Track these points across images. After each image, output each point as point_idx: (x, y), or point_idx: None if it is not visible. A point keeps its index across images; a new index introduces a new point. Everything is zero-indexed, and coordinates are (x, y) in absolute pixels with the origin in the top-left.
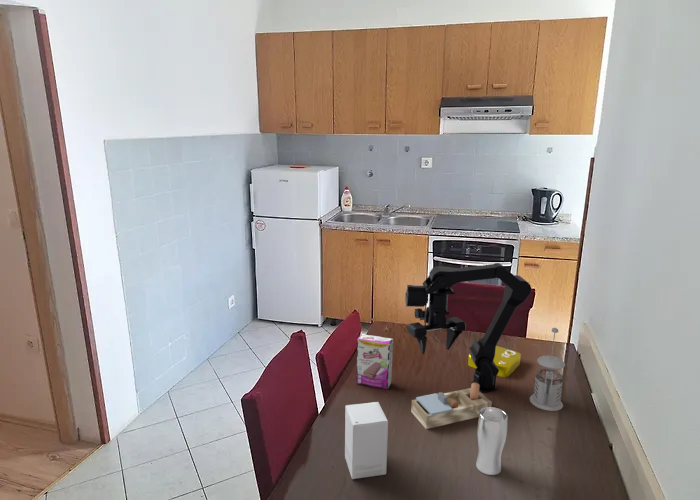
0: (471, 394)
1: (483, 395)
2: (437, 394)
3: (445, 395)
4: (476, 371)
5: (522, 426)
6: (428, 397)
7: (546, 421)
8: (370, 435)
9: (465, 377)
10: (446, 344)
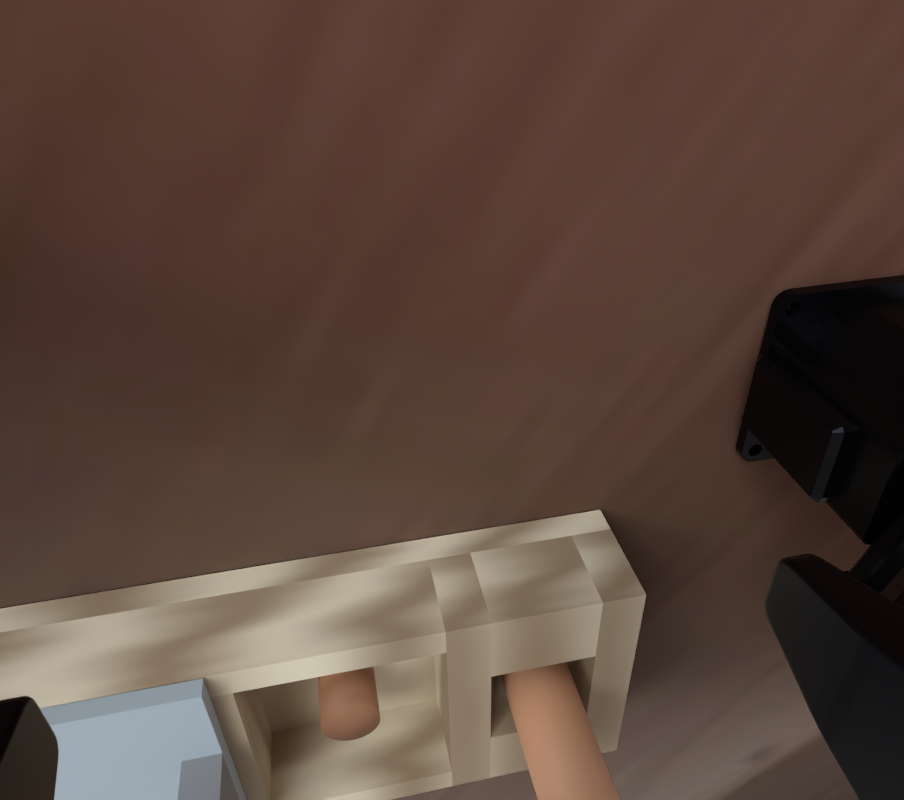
0: (519, 736)
1: (625, 691)
2: (205, 712)
3: (301, 677)
4: (874, 463)
5: (659, 744)
6: (86, 748)
7: (805, 715)
8: None
9: (827, 152)
10: (858, 660)
